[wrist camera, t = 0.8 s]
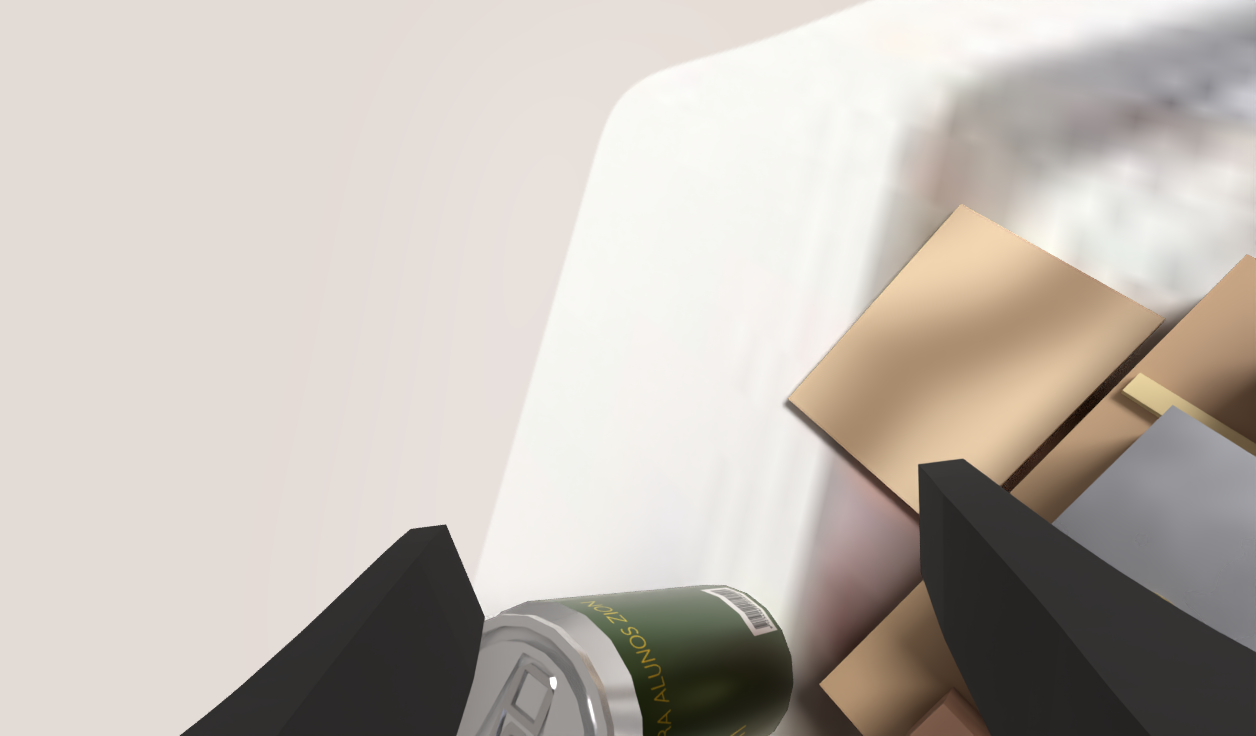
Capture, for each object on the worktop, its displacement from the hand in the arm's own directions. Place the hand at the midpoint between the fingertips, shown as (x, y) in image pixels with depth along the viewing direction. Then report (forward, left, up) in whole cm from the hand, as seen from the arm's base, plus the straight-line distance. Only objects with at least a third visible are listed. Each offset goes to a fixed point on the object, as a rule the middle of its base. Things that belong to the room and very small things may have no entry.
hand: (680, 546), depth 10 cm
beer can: (+1, +7, -15) cm, 16 cm away
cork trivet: (+2, -6, -15) cm, 16 cm away
